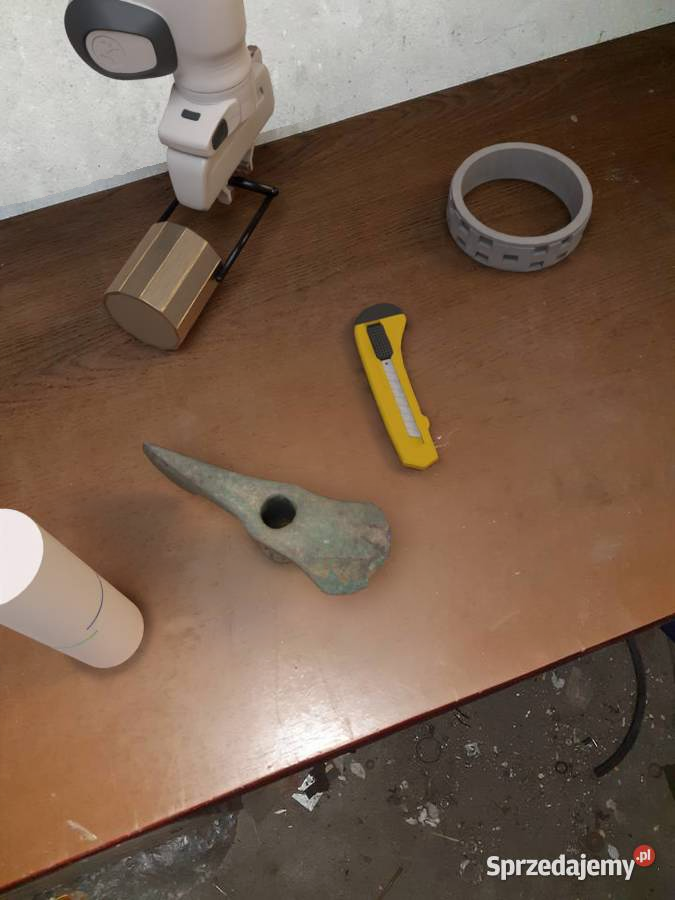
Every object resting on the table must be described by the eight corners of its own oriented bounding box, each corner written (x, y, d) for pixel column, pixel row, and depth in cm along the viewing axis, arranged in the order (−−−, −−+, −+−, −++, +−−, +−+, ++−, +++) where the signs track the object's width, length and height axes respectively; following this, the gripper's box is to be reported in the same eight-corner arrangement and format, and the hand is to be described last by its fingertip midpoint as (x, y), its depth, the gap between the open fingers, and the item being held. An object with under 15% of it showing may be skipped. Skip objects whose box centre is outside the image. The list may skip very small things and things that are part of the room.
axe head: (137, 519, 75) (107, 483, 66) (184, 447, 79) (162, 404, 70) (361, 632, 69) (361, 609, 60) (401, 549, 73) (407, 516, 64)
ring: (420, 199, 94) (423, 170, 90) (532, 154, 98) (540, 123, 93) (493, 293, 87) (500, 266, 83) (610, 240, 90) (624, 212, 86)
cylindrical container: (157, 616, 70) (64, 535, 48) (116, 681, 68) (-3, 628, 45) (100, 584, 72) (-16, 492, 49) (58, 647, 69) (-85, 579, 47)
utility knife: (397, 305, 87) (398, 295, 85) (460, 461, 77) (462, 454, 75) (345, 318, 86) (344, 308, 84) (401, 477, 76) (403, 470, 75)
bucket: (197, 362, 84) (178, 311, 75) (109, 331, 86) (81, 278, 77) (284, 218, 94) (276, 158, 85) (203, 193, 96) (187, 132, 87)
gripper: (233, 30, 83) (249, 128, 96) (148, 141, 75) (178, 233, 87) (280, 42, 82) (290, 140, 94) (200, 156, 74) (222, 247, 86)
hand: (236, 185), depth 91 cm, fingers open, 4 cm apart
